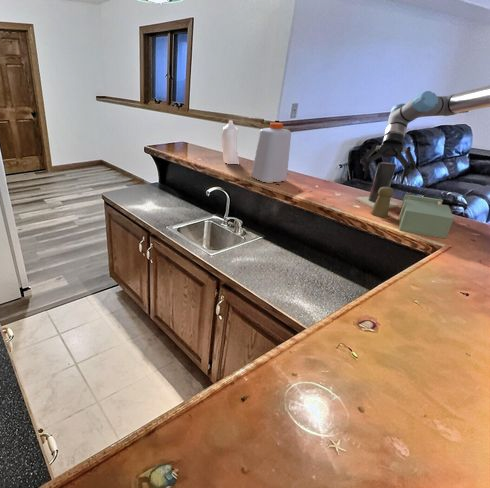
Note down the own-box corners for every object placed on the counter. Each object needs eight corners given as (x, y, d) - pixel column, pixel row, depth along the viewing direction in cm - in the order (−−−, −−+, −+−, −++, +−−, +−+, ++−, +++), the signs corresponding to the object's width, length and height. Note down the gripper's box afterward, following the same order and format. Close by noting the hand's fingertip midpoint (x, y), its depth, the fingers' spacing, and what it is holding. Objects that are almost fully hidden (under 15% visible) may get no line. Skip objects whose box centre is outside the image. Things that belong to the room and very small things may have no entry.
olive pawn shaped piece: (371, 210, 143) (378, 184, 138) (387, 213, 140) (396, 186, 135) (370, 215, 138) (377, 188, 133) (387, 218, 136) (396, 190, 131)
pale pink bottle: (231, 166, 206) (235, 122, 195) (216, 163, 212) (220, 120, 201) (242, 163, 213) (246, 120, 202) (227, 160, 220) (231, 118, 209)
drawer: (400, 204, 147) (405, 191, 144) (436, 210, 142) (441, 196, 139) (401, 218, 133) (406, 203, 131) (440, 225, 128) (446, 210, 125)
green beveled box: (398, 217, 137) (405, 198, 133) (441, 224, 130) (448, 205, 127) (399, 230, 125) (406, 210, 122) (445, 238, 119) (454, 218, 116)
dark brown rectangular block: (388, 203, 148) (400, 165, 141) (375, 203, 147) (386, 166, 140) (377, 198, 154) (388, 161, 147) (364, 198, 153) (375, 162, 146)
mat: (398, 207, 147) (399, 205, 146) (373, 208, 145) (373, 206, 144) (378, 198, 157) (379, 195, 157) (354, 199, 155) (355, 197, 155)
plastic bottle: (289, 181, 179) (299, 124, 166) (265, 184, 174) (273, 126, 161) (271, 174, 191) (279, 120, 179) (248, 176, 186) (254, 121, 174)
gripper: (425, 145, 148) (416, 189, 143) (360, 140, 159) (349, 179, 154) (431, 134, 141) (421, 179, 136) (362, 129, 153) (351, 170, 148)
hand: (383, 179), depth 145 cm, fingers open, 13 cm apart
